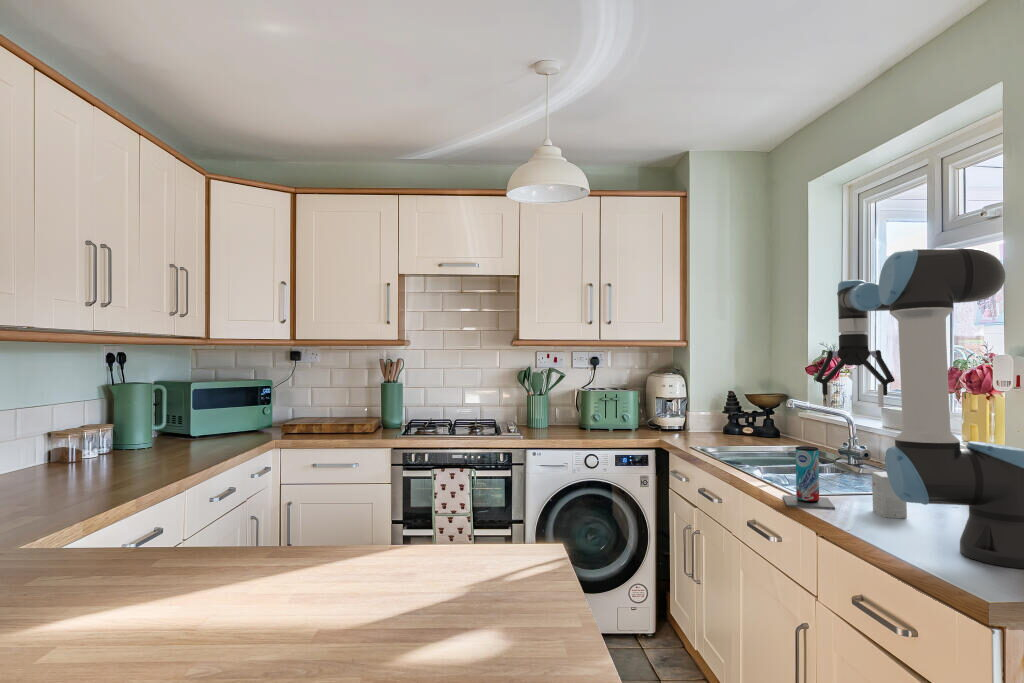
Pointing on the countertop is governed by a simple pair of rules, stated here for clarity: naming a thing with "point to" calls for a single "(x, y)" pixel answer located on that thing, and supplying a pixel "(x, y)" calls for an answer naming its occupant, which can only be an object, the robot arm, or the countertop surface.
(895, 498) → the small box
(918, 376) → the robot arm
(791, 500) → the coaster
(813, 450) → the beverage can
